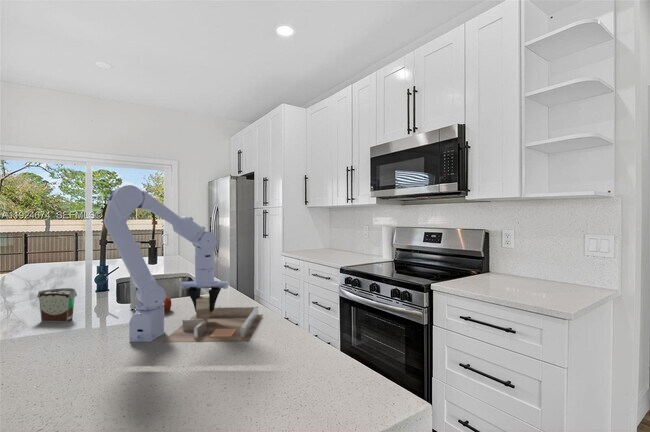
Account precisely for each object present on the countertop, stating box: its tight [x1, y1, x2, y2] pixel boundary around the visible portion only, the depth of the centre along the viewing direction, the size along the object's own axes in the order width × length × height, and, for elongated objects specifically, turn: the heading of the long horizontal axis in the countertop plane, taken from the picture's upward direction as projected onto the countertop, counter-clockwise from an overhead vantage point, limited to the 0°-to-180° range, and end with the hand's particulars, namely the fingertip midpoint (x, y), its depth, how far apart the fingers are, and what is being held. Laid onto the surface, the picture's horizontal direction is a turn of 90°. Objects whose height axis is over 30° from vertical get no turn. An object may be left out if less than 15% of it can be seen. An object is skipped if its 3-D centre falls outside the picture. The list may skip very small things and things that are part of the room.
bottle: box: [129, 242, 142, 310], centre depth 125 cm, size 5×5×25 cm
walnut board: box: [161, 314, 264, 343], centre depth 102 cm, size 24×24×1 cm
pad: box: [210, 329, 236, 337], centre depth 96 cm, size 6×6×1 cm
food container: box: [36, 287, 78, 323], centre depth 113 cm, size 12×6×10 cm, turn 84°
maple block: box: [195, 295, 213, 318], centre depth 106 cm, size 4×4×6 cm
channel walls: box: [182, 306, 259, 339], centre depth 102 cm, size 21×20×3 cm
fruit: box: [164, 295, 172, 315], centre depth 117 cm, size 8×8×8 cm
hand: (204, 310), depth 106 cm, fingers closed on maple block, 4 cm apart
